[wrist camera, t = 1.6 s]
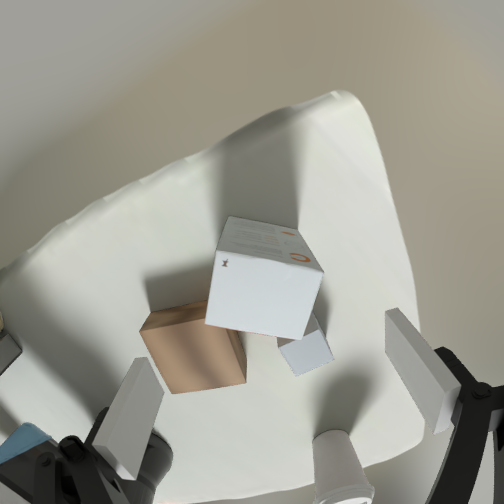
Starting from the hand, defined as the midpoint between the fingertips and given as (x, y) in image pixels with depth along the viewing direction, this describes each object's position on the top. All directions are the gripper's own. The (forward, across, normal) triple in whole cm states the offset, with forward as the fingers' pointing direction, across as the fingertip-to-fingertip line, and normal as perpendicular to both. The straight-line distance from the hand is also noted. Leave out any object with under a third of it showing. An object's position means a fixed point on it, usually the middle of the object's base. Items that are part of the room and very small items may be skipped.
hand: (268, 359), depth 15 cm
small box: (+21, 0, 0) cm, 21 cm away
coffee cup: (+20, +5, -37) cm, 43 cm away
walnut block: (+21, -10, -10) cm, 25 cm away
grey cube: (+20, +3, -12) cm, 24 cm away
